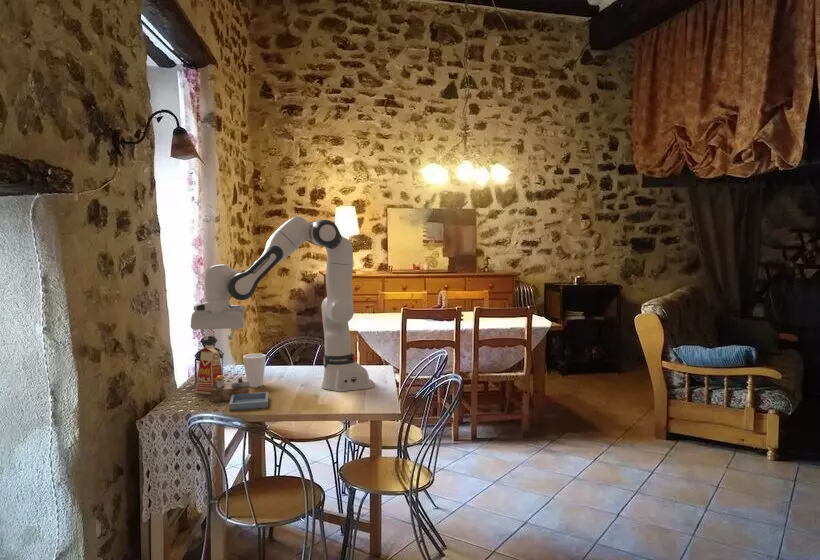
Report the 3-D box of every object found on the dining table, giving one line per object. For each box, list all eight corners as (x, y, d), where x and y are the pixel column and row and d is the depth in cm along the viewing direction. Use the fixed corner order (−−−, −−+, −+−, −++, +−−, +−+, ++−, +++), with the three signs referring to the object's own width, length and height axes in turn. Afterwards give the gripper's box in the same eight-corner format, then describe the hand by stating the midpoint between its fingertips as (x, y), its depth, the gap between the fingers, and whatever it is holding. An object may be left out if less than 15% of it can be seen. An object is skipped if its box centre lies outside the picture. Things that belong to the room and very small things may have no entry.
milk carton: (214, 394, 245) (213, 346, 244) (194, 393, 247) (192, 345, 246) (226, 388, 254) (224, 342, 253) (206, 387, 256) (204, 341, 254)
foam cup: (265, 381, 265) (264, 352, 264) (267, 387, 257) (266, 357, 255) (243, 383, 262) (242, 354, 261) (244, 388, 254) (243, 358, 252)
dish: (268, 397, 240) (268, 391, 240) (267, 408, 226) (267, 401, 226) (232, 400, 237) (232, 394, 237) (229, 410, 223) (229, 404, 223)
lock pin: (223, 396, 242) (222, 375, 241) (223, 398, 239) (222, 376, 238) (217, 397, 241) (216, 375, 240) (216, 399, 239) (216, 376, 238)
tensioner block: (250, 393, 246) (249, 375, 246) (249, 398, 239) (248, 380, 238) (213, 395, 243) (212, 377, 243) (211, 401, 236) (210, 382, 235)
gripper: (245, 303, 242) (245, 337, 243) (191, 305, 238) (192, 339, 239) (244, 305, 236) (244, 340, 237) (189, 306, 232) (190, 342, 233)
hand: (218, 339), depth 238 cm, fingers open, 8 cm apart
